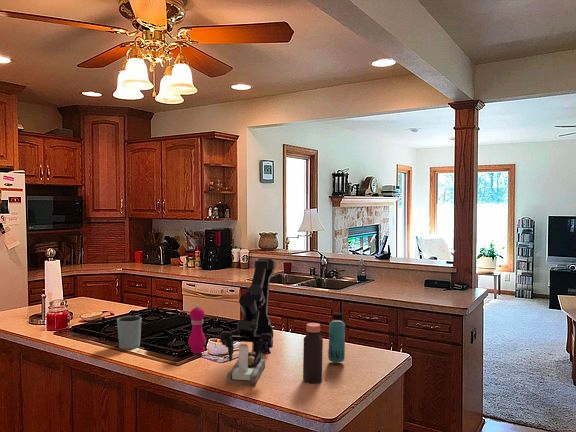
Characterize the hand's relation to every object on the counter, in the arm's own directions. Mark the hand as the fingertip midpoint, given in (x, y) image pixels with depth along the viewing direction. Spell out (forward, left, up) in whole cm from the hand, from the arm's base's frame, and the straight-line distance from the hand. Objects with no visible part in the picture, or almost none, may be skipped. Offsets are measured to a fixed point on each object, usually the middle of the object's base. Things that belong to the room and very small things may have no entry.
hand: (242, 361), depth 167 cm
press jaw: (-1, -1, -6) cm, 6 cm away
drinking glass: (+38, -52, -8) cm, 65 cm away
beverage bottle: (-40, -10, -8) cm, 42 cm away
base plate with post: (-3, -6, -8) cm, 10 cm away
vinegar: (-25, +4, -8) cm, 26 cm away
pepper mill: (+11, -37, -8) cm, 40 cm away
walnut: (-6, -12, -6) cm, 15 cm away
